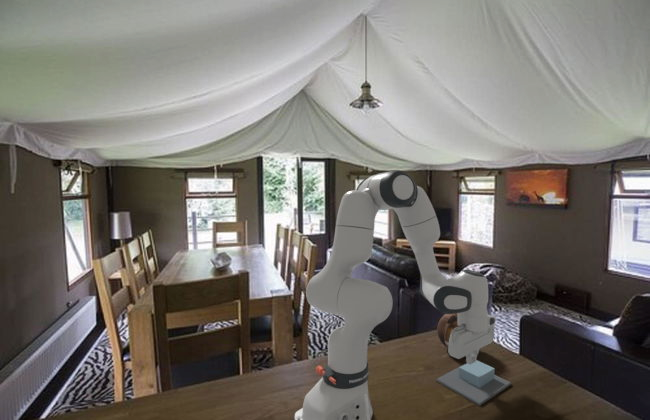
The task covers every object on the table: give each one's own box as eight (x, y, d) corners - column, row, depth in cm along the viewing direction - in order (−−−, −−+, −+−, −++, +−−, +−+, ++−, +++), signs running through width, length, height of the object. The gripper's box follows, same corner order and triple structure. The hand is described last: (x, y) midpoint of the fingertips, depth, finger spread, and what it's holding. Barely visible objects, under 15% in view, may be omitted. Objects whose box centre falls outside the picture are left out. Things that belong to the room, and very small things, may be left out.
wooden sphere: (457, 338, 140) (457, 303, 139) (487, 355, 126) (488, 316, 125) (428, 345, 134) (429, 309, 133) (456, 363, 120) (457, 323, 119)
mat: (479, 405, 97) (479, 403, 97) (436, 381, 109) (436, 378, 109) (510, 384, 107) (510, 382, 107) (468, 364, 119) (468, 362, 119)
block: (479, 377, 104) (494, 368, 109) (459, 367, 110) (474, 359, 115) (478, 388, 104) (494, 378, 109) (459, 377, 110) (474, 368, 115)
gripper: (461, 332, 97) (460, 377, 98) (498, 316, 109) (497, 357, 110) (443, 325, 103) (442, 368, 104) (480, 310, 114) (479, 349, 115)
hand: (471, 362), depth 107 cm, fingers closed
